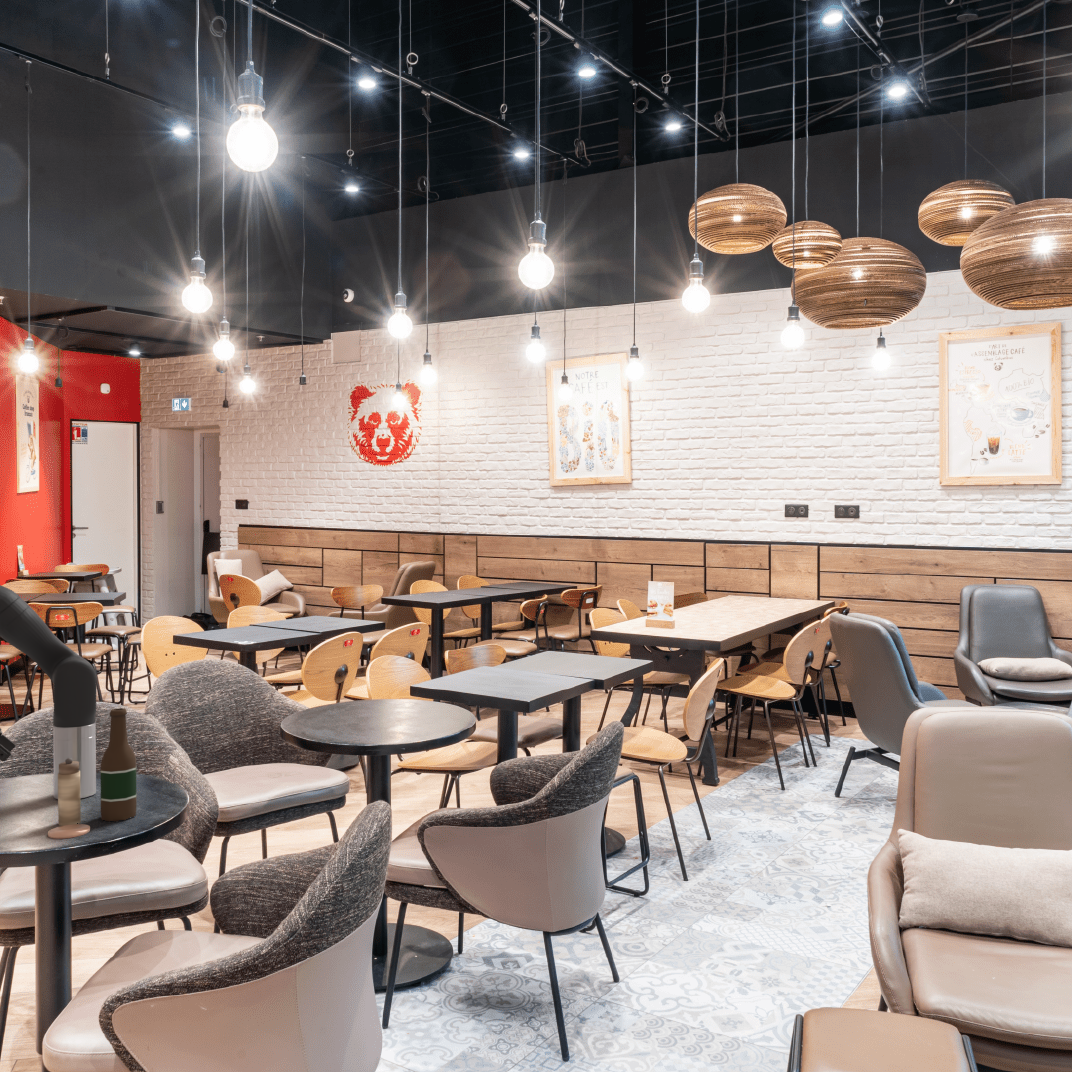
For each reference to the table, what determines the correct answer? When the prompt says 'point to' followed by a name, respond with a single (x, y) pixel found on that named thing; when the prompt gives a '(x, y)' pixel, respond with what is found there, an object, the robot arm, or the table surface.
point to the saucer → (68, 831)
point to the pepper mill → (69, 793)
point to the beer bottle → (118, 772)
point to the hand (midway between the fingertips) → (10, 753)
